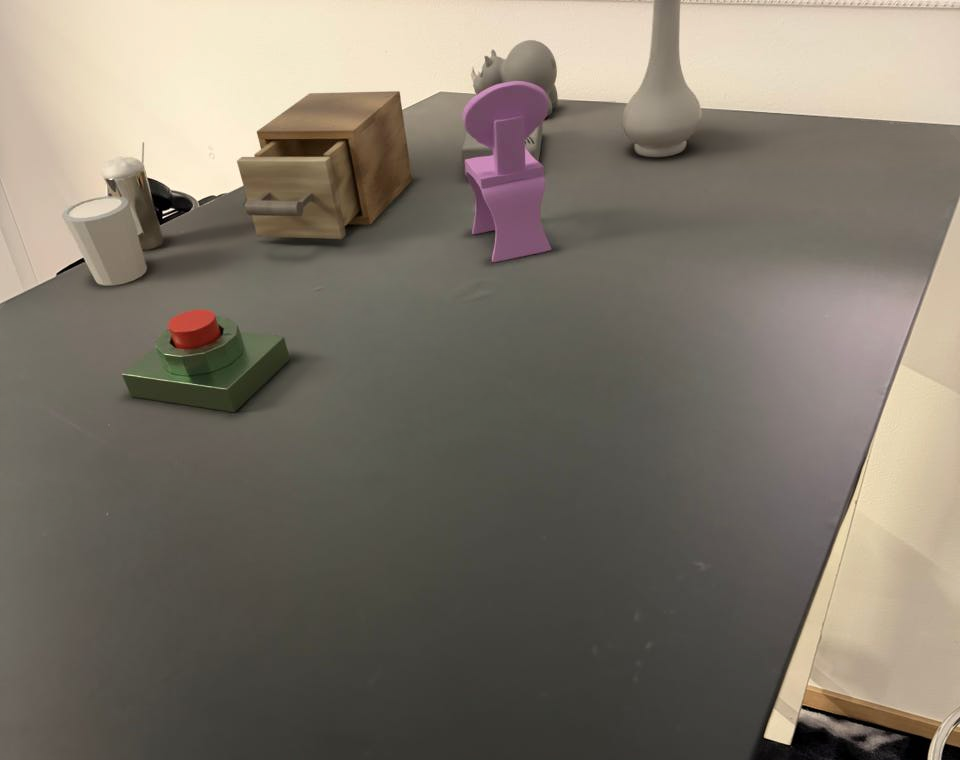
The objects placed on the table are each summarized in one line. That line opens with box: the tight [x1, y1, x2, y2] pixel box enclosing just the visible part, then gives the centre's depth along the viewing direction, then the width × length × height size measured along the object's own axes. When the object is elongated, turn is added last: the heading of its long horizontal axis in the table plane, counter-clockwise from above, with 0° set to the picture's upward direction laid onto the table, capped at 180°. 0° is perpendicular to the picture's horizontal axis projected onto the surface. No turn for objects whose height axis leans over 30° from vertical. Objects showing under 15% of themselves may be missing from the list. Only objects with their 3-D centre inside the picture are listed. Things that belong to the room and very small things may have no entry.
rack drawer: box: [236, 139, 361, 240], centre depth 95 cm, size 17×10×8 cm, turn 162°
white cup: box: [61, 195, 148, 286], centre depth 93 cm, size 7×7×7 cm
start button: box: [167, 308, 221, 349], centre depth 74 cm, size 4×4×2 cm
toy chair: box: [461, 81, 552, 263], centre depth 86 cm, size 8×9×15 cm
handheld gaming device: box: [461, 122, 543, 177], centre depth 108 cm, size 9×15×4 cm, turn 175°
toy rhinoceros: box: [470, 39, 559, 117], centre depth 118 cm, size 7×12×8 cm, turn 72°
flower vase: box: [621, 0, 703, 158], centre depth 97 cm, size 13×18×25 cm
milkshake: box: [101, 141, 165, 251], centre depth 97 cm, size 4×5×10 cm
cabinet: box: [256, 90, 413, 226], centre depth 101 cm, size 14×12×10 cm
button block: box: [121, 316, 291, 413], centre depth 75 cm, size 11×9×4 cm
